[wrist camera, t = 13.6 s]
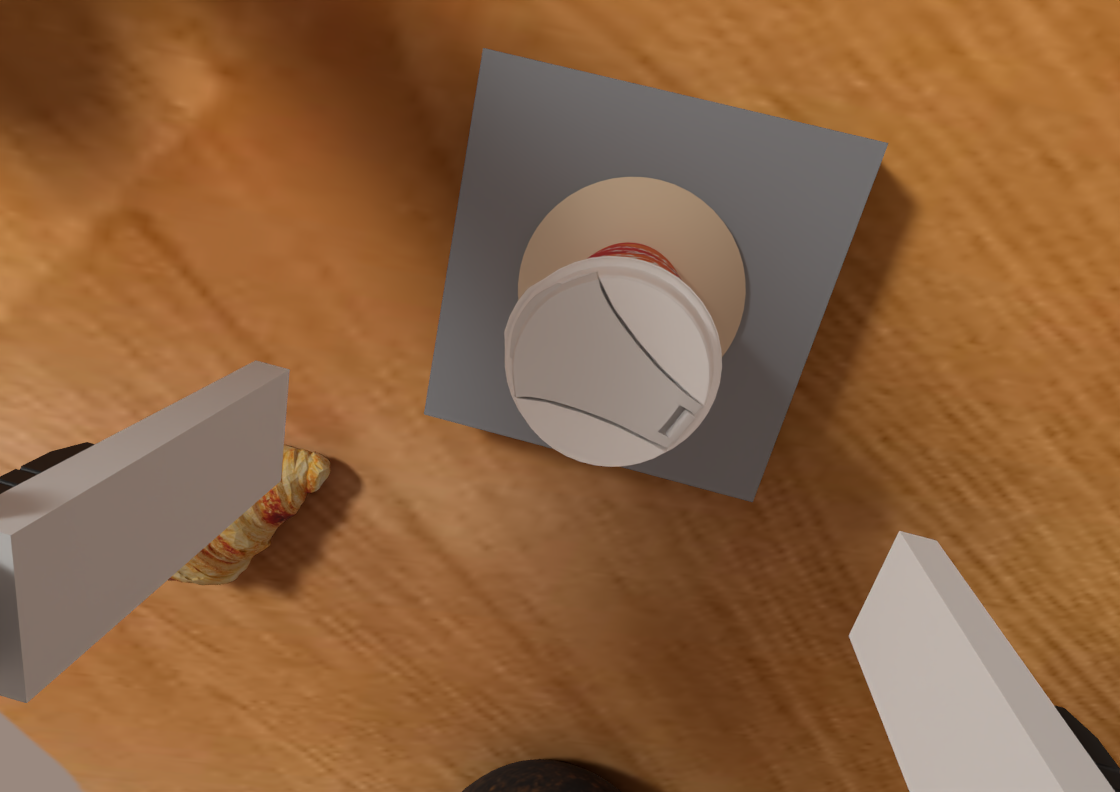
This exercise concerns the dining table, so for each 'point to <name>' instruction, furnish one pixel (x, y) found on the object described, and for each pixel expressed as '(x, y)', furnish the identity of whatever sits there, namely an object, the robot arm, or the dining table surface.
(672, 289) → the paper cup
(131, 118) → the dining table surface
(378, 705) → the dining table surface
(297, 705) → the dining table surface
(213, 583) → the croissant
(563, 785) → the glass bottle
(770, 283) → the plinth
